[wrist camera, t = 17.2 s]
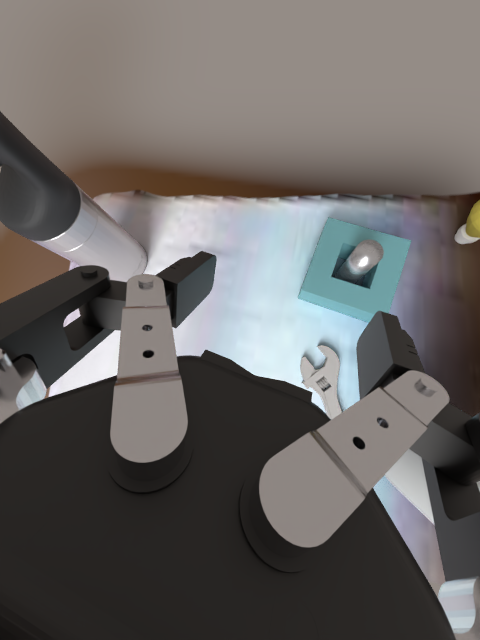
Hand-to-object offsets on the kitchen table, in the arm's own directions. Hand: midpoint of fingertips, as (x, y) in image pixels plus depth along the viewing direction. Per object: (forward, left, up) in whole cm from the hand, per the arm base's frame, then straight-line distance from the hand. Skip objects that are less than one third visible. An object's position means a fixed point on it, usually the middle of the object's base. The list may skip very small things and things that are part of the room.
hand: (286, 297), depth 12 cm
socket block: (+8, +16, -31) cm, 35 cm away
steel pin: (+8, +16, -31) cm, 35 cm away
